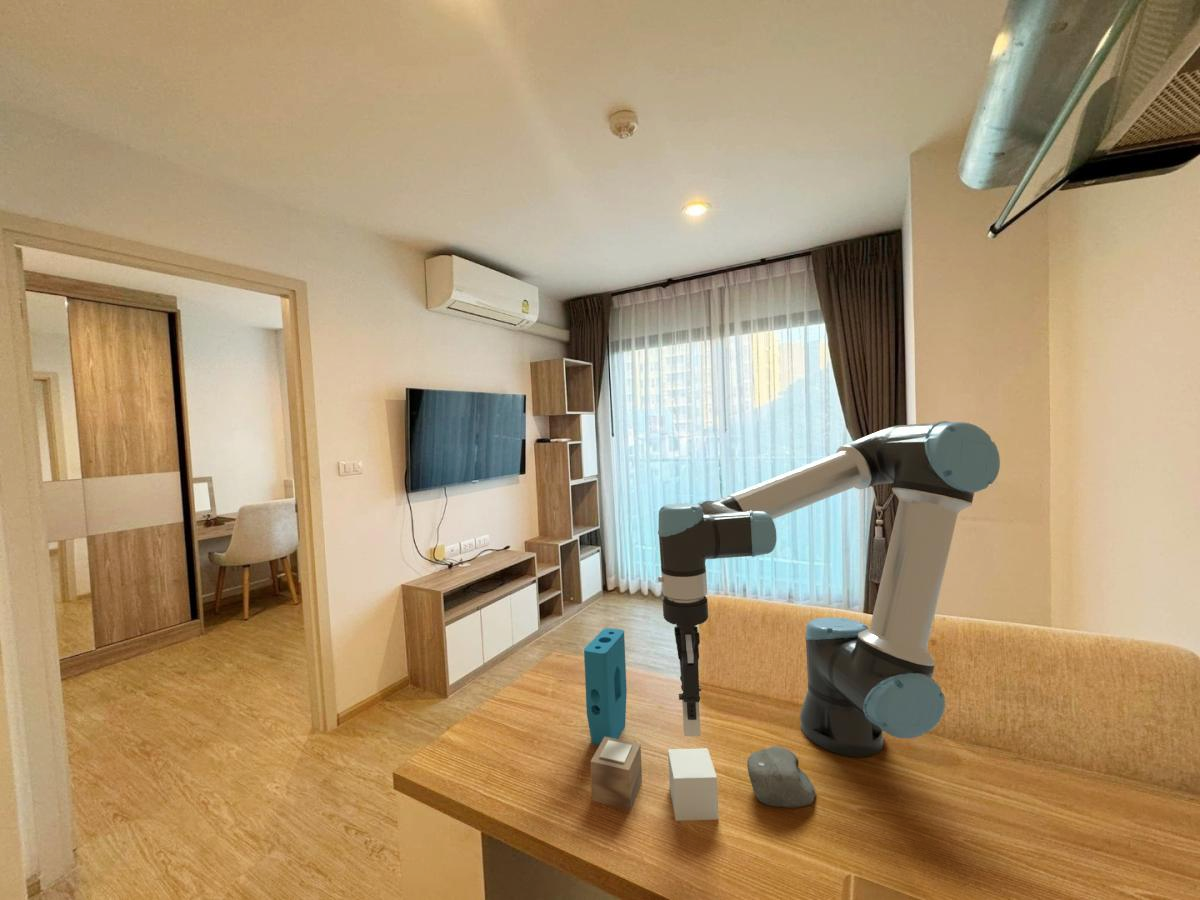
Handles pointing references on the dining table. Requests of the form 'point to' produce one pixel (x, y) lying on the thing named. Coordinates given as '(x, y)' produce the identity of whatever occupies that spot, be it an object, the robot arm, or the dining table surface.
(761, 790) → the stone
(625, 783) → the marked block
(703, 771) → the plain block
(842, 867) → the dining table surface
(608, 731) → the block
